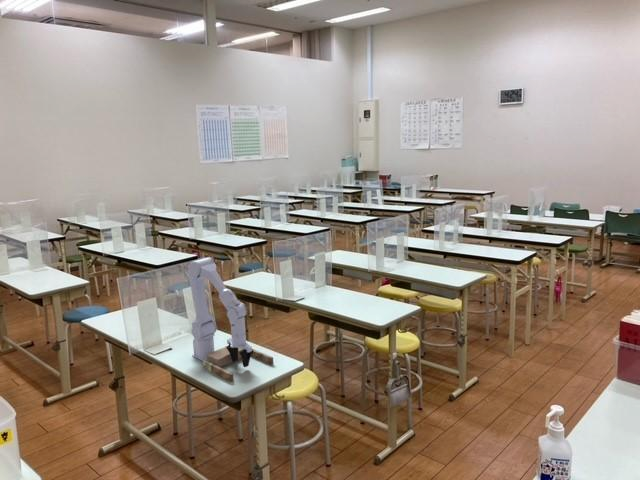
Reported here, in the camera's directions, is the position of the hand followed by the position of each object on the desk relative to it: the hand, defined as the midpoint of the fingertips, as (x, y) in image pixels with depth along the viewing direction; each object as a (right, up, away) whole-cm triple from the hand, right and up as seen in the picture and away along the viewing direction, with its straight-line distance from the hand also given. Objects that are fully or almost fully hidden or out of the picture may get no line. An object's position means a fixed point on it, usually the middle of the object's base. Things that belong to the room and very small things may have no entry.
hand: (240, 363), depth 207 cm
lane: (-1, -1, +1) cm, 2 cm away
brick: (-4, +3, +3) cm, 6 cm away
